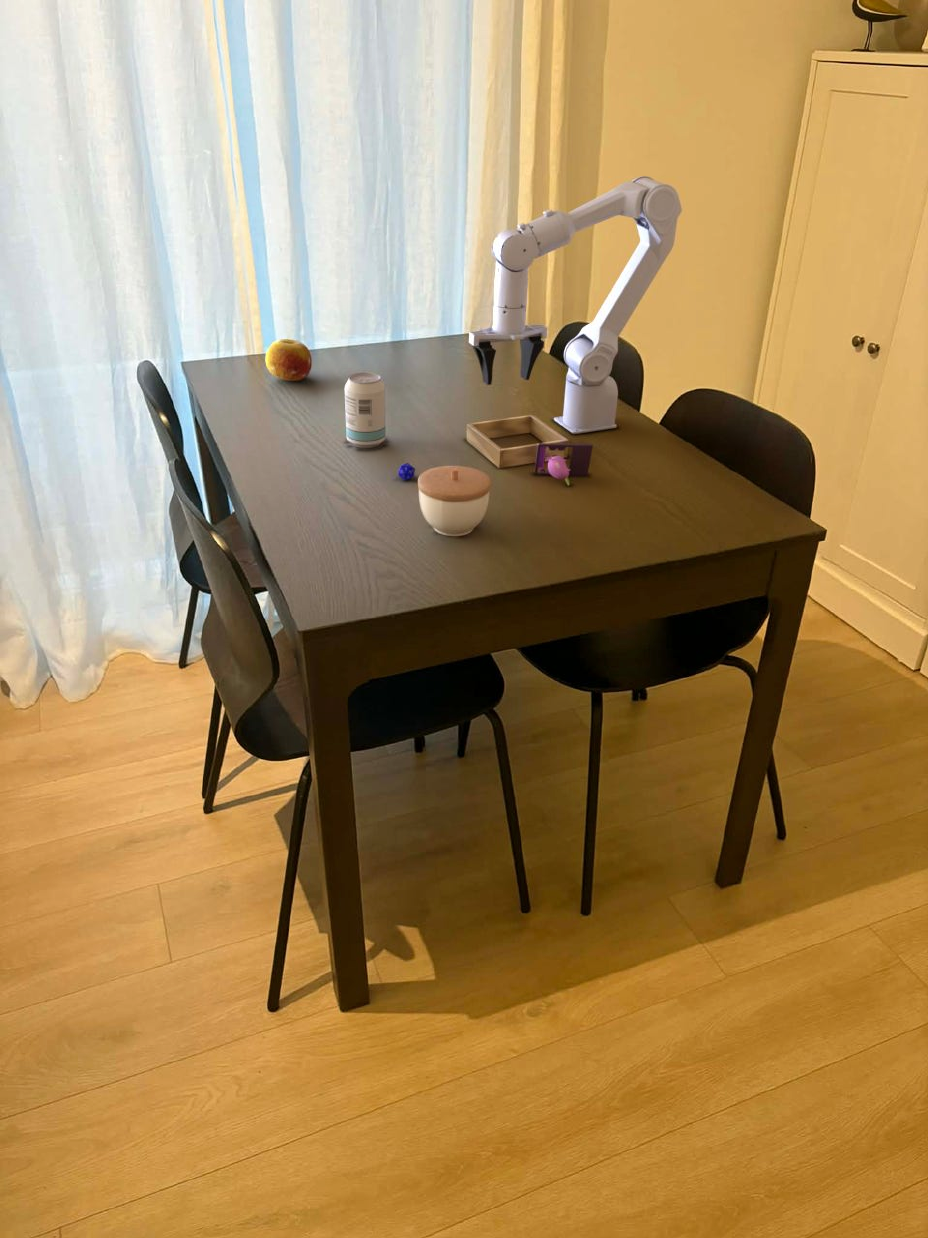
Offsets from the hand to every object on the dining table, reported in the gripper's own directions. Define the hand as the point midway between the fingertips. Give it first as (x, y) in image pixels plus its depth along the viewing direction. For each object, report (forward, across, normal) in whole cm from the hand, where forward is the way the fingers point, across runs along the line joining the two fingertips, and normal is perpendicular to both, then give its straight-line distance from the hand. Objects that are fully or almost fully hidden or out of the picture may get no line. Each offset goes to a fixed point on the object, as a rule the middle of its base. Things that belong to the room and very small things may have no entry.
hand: (506, 380), depth 177 cm
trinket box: (+10, -25, -33) cm, 42 cm away
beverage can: (+10, -26, +3) cm, 28 cm away
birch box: (+9, -2, -9) cm, 13 cm away
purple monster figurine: (+10, -1, -24) cm, 26 cm away
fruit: (+10, -29, +41) cm, 51 cm away
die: (+10, -25, -14) cm, 30 cm away
